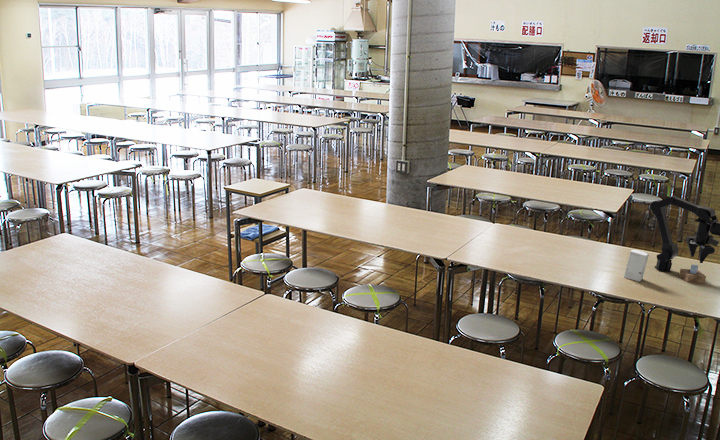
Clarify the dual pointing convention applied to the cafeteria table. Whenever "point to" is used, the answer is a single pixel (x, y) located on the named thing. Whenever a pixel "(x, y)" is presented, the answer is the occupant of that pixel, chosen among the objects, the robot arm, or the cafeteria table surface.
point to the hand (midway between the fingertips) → (696, 259)
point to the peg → (694, 269)
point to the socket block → (692, 276)
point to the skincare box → (636, 265)
